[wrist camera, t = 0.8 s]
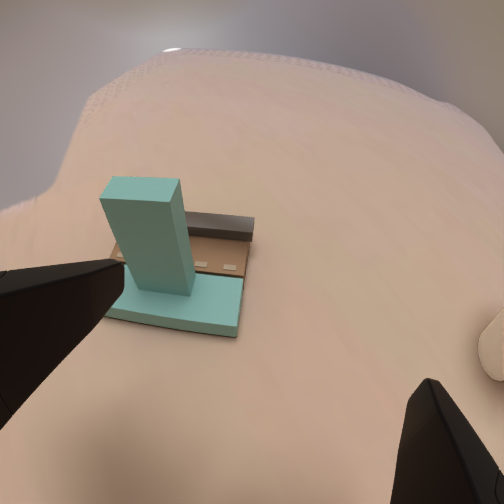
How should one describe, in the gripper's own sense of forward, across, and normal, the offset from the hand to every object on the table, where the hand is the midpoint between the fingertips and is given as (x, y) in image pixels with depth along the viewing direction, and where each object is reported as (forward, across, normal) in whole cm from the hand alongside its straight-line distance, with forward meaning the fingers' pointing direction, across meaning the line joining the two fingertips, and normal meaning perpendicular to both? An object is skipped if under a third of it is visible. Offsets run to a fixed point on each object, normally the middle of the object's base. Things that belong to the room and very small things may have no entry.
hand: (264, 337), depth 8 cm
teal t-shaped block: (+12, +10, +11) cm, 19 cm away
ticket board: (+17, +11, +9) cm, 22 cm away
